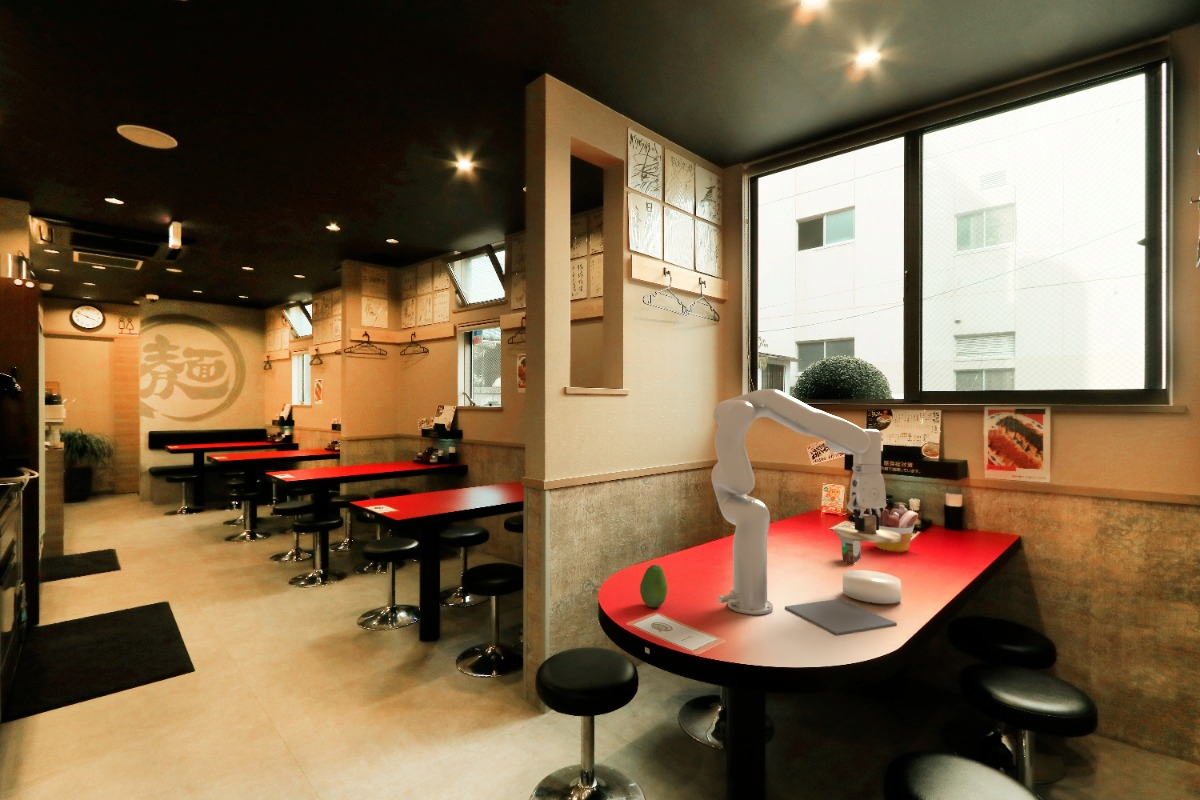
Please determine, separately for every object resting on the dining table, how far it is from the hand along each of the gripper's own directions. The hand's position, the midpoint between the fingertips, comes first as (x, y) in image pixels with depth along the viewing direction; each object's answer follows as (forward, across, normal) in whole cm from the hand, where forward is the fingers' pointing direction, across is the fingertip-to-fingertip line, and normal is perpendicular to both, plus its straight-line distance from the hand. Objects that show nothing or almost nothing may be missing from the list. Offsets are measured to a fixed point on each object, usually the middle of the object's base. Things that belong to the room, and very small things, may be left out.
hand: (866, 529), depth 165 cm
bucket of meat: (+21, +58, +43) cm, 75 cm away
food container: (+21, +28, +36) cm, 50 cm away
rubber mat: (+21, -18, -8) cm, 29 cm away
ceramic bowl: (+21, +3, +1) cm, 21 cm away
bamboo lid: (+2, 0, 0) cm, 2 cm away
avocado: (+22, -63, +16) cm, 69 cm away
